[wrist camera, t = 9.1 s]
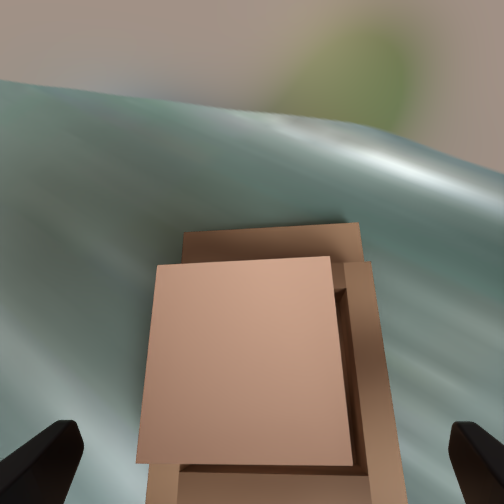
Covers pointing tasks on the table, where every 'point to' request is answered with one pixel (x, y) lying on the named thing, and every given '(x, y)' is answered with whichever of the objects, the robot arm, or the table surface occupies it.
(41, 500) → the robot arm
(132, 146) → the table surface
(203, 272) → the clay bar
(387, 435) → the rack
